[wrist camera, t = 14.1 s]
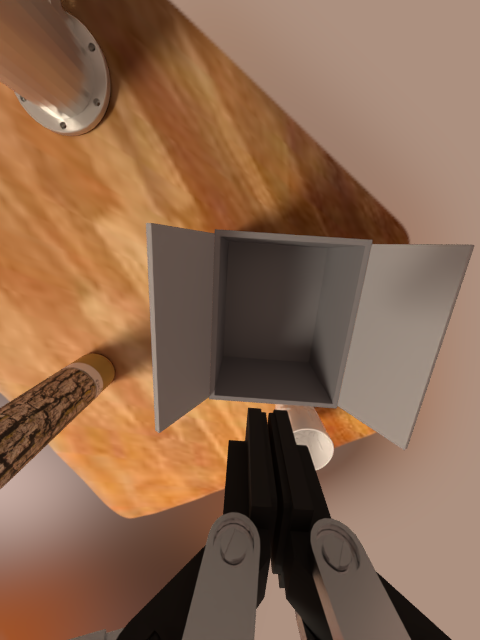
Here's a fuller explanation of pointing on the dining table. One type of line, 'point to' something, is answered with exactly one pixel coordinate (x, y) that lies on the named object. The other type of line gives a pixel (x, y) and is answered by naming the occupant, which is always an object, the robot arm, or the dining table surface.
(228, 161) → the dining table surface
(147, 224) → the flap
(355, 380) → the flap
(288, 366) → the carton
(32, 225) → the dining table surface
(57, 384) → the paper tube
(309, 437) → the white cup
